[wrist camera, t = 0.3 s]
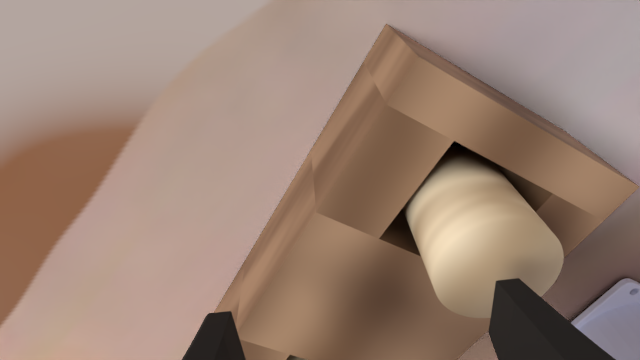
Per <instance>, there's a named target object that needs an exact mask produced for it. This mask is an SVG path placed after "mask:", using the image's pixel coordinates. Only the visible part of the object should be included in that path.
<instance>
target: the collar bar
mask: <svg viewBox="0 0 640 360" xmlns="http://www.w3.org/2000/svg"><path fill="white" fill-rule="evenodd" d="M454 141H456V142H457V143H459V144H461V145H463V146H465V147H467V148H469V149H470V150H472V151H474V152H476V153H478V154H480V155H482V156H484V157H485V158H487V159H489V160H491V161H492V162H493V163H494V164H495V166H496V167H497V168H498V169H499V170H500V171H501V173H502V174H503V175H504V176H505V177H506V178H507V180H508V181H509V182H510V183H511V184H512V185H513V187H514V188H515V189H516V190H517V191H518V192H519V194H520V195H521V196H522V197H523V198H524V199H525V201H526V202H527V203H528V204H529V205H530V206H531V208H532V209H533V210H534V211H535V212H536V213H537V215H538V216H539V217H540V218H541V219H542V220H543V222H544V223H545V224H546V225H547V226H548V227H549V229H550V230H551V231H552V232H553V233H554V234H555V236H556V237H557V238H558V239H559V241H560V243H561V245H562V249H563V255H564V258H565V257H566V256H567V255H568V254H569V253H570V252H571V251H572V250H573V249H574V248H575V247H576V246H578V245H579V244H580V243H581V242H582V241H583V240H584V239H585V238H586V237H587V236H588V235H589V234H590V233H591V232H592V231H593V230H594V229H595V228H597V227H598V226H599V225H600V224H601V223H602V222H603V221H604V220H605V219H606V218H607V217H608V216H609V215H610V214H611V213H612V212H613V211H615V210H616V209H617V208H618V207H619V206H620V205H621V204H622V203H623V202H624V201H625V200H626V199H627V198H628V197H629V196H630V195H631V194H633V193H634V192H635V191H636V190H637V189H638V188H639V186H638V185H636V184H635V183H634V182H632V181H631V180H630V179H628V178H627V177H626V176H624V175H623V174H621V173H620V172H619V171H617V170H616V169H615V168H613V167H612V166H611V165H609V164H608V163H607V162H605V161H604V160H603V159H601V158H600V157H599V156H597V155H596V154H595V153H593V152H592V151H591V150H589V149H588V148H587V147H585V146H584V145H582V144H581V143H580V142H578V141H577V140H576V139H574V138H573V137H572V136H570V135H569V134H568V133H566V132H565V131H564V130H562V129H560V128H559V127H557V126H555V125H554V124H552V123H550V122H549V121H547V120H545V119H544V118H542V117H540V116H539V115H537V114H535V113H534V112H532V111H530V110H529V109H527V108H525V107H524V106H522V105H520V104H519V103H517V102H515V101H514V100H512V99H510V98H509V97H507V96H505V95H504V94H502V93H500V92H499V91H497V90H495V89H494V88H492V87H490V86H489V85H487V84H485V83H484V82H482V81H480V80H479V79H477V78H475V77H474V76H472V75H470V74H469V73H467V72H465V71H464V70H462V69H460V68H459V67H457V66H455V65H454V64H452V63H450V62H449V61H447V60H446V59H444V58H442V57H441V56H439V55H437V54H436V53H434V52H432V51H431V50H429V49H427V48H426V47H424V46H422V45H421V44H419V43H417V42H416V41H414V40H412V39H411V38H409V37H407V36H406V35H404V34H402V33H401V32H399V31H397V30H396V29H394V28H392V27H391V26H389V25H387V24H386V25H385V27H384V28H383V30H382V32H381V33H380V35H379V37H378V38H377V40H376V42H375V43H374V45H373V47H372V48H371V50H370V52H369V53H368V55H367V57H366V59H365V60H364V62H363V64H362V65H361V67H360V69H359V70H358V72H357V74H356V75H355V77H354V79H353V80H352V82H351V84H350V85H349V87H348V89H347V90H346V92H345V94H344V95H343V97H342V99H341V100H340V102H339V104H338V106H337V107H336V109H335V111H334V112H333V114H332V116H331V117H330V119H329V121H328V122H327V124H326V126H325V127H324V129H323V131H322V132H321V134H320V136H319V137H318V139H317V141H316V142H315V144H314V146H313V147H312V149H311V151H310V153H309V154H308V156H307V158H306V159H305V161H304V163H303V164H302V166H301V168H300V169H299V171H298V173H297V174H296V176H295V178H294V179H293V181H292V183H291V184H290V186H289V188H288V189H287V191H286V193H285V194H284V196H283V198H282V200H281V201H280V203H279V205H278V206H277V208H276V210H275V211H274V213H273V215H272V216H271V218H270V220H269V221H268V223H267V225H266V226H265V228H264V230H263V231H262V233H261V235H260V236H259V238H258V240H257V241H256V243H255V245H254V247H253V248H252V250H251V252H250V253H249V255H248V257H247V258H246V260H245V262H244V263H243V265H242V267H241V268H240V270H239V272H238V273H237V275H236V277H235V278H234V280H233V282H232V283H231V285H230V287H229V288H228V290H227V292H226V294H225V295H224V297H223V299H222V300H221V302H220V304H219V305H218V307H217V309H216V310H215V312H214V313H217V312H226V311H231V313H232V316H233V319H234V322H235V326H236V329H237V332H238V335H239V339H240V342H241V345H242V349H243V352H244V355H245V358H246V360H286V359H287V358H288V357H289V355H293V356H296V357H300V358H303V359H306V360H457V359H458V358H459V357H460V356H461V355H462V354H463V353H464V352H465V351H466V350H467V349H468V348H470V347H471V346H472V345H473V344H474V343H475V342H476V341H477V340H478V339H479V338H480V337H481V336H482V335H483V334H484V333H485V332H486V331H488V330H489V325H490V318H471V317H466V316H462V315H459V314H456V313H454V312H452V311H451V310H449V309H447V308H446V307H445V306H444V305H443V304H442V303H441V302H440V300H439V299H438V297H437V295H436V293H435V290H434V288H433V285H432V283H431V280H430V278H429V275H428V273H427V270H426V267H425V265H424V262H423V260H422V257H421V255H420V252H419V250H418V247H417V245H416V242H415V239H414V237H413V234H412V232H411V229H410V227H409V224H408V222H407V219H406V217H405V214H404V211H403V209H402V208H403V207H404V205H405V204H406V203H407V201H408V200H409V199H410V198H411V196H412V195H413V194H414V192H415V191H416V190H417V188H418V187H419V186H420V185H421V183H422V182H423V181H424V179H425V178H426V177H427V175H428V174H429V173H430V172H431V170H432V169H433V168H434V166H435V165H436V164H437V162H438V161H439V160H440V158H441V157H442V156H443V155H444V153H445V152H446V151H447V149H448V148H449V147H450V145H451V144H452V143H453V142H454Z"/></svg>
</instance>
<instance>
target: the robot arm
mask: <svg viewBox="0 0 640 360" xmlns="http://www.w3.org/2000/svg"><path fill="white" fill-rule="evenodd" d="M489 335H490V337H491V340H492V343H493V346H494V349H495V352H496V354H497V357H498V359H499V360H640V283H638V282H636V281H634V280H632V279H629V278H626V279H622V280H620V281H619V282H618V283H616V284H615V285H614V286H613V287H612V288H611V289H609V290H608V291H607V292H606V293H605V294H604V295H602V296H601V297H600V298H599V299H598V300H596V301H595V302H594V303H593V304H592V305H591V306H589V307H588V308H587V309H586V310H585V311H583V312H582V313H581V314H580V315H579V316H578V317H576V318H575V319H574V320H573V321H572V322H571V323H570V322H569V321H568V320H566V319H565V318H564V317H563V316H562V315H561V314H559V313H558V312H557V311H556V310H555V309H554V308H552V307H551V306H550V305H549V304H548V303H547V302H546V301H544V300H543V299H542V298H541V297H540V296H539V295H538V294H536V293H535V292H534V291H533V290H532V289H531V288H530V287H528V286H527V285H526V284H525V283H524V282H523V281H521V280H520V279H519V278H515V279H506V280H498V281H496V284H495V291H494V298H493V305H492V312H491V318H490V325H489ZM182 360H246V358H245V355H244V352H243V349H242V345H241V342H240V339H239V335H238V332H237V329H236V326H235V322H234V319H233V316H232V313H231V311H226V312H217V313H209V314H208V315H207V316H206V317H205V319H204V321H203V323H202V325H201V327H200V329H199V330H198V332H197V334H196V336H195V338H194V340H193V341H192V343H191V345H190V347H189V349H188V350H187V352H186V354H185V355H184V357H183V359H182Z"/></svg>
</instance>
